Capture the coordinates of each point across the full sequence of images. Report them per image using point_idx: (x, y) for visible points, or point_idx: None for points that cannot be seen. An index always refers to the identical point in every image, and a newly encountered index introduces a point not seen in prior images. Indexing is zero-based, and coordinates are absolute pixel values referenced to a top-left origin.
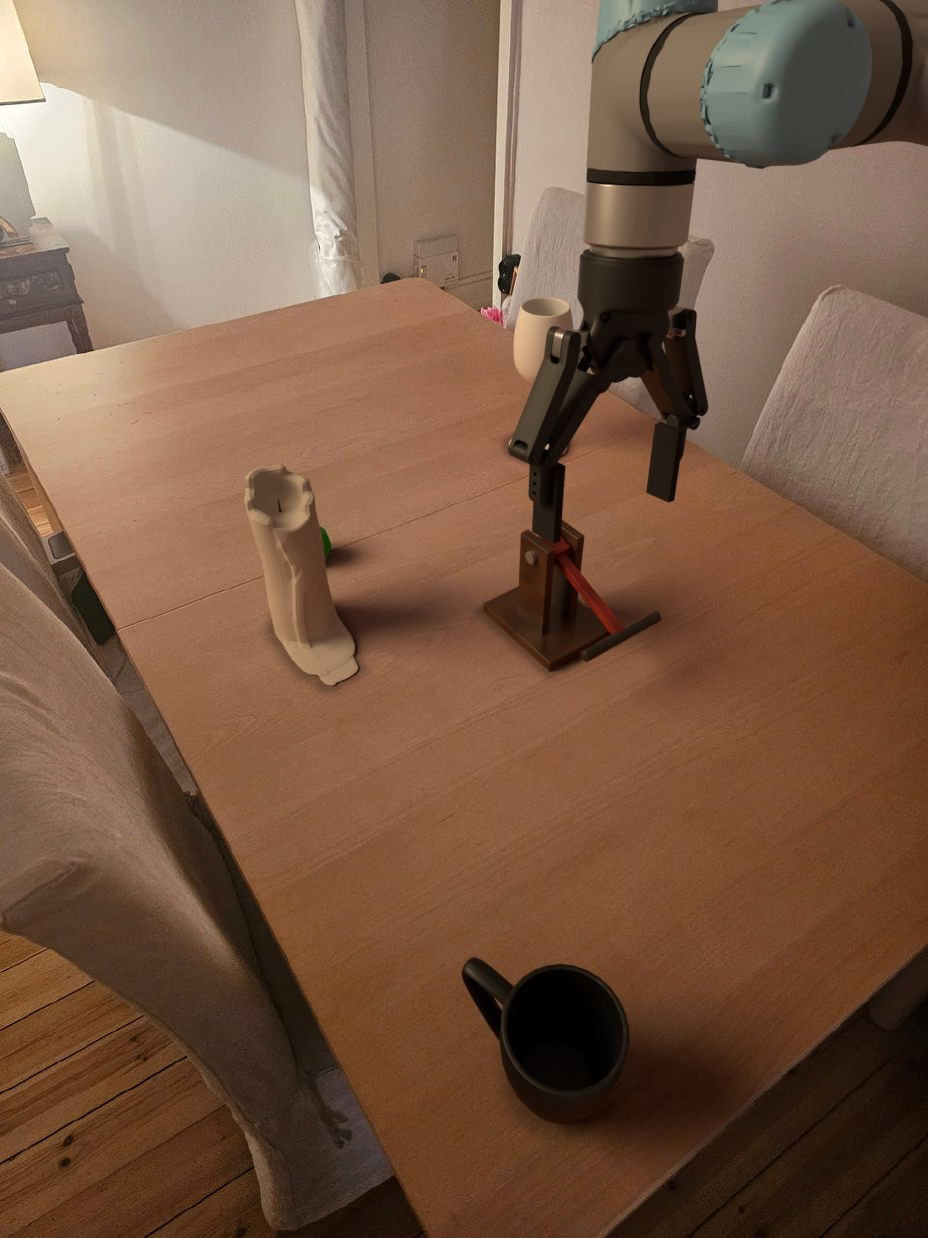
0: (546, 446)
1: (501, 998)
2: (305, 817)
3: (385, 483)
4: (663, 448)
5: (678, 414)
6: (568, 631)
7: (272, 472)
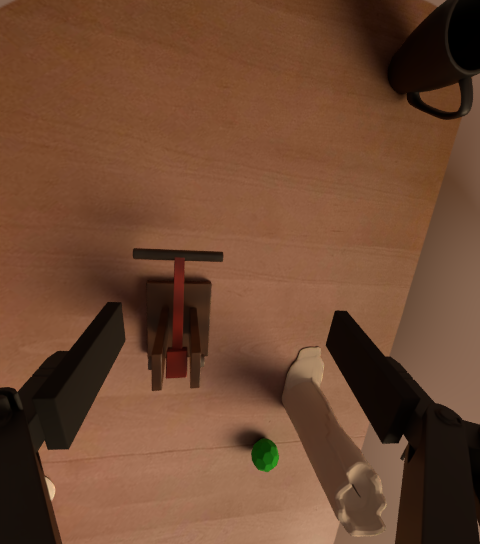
0: None
1: (471, 80)
2: (382, 278)
3: (173, 492)
4: (87, 384)
5: (31, 446)
6: None
7: (360, 528)
